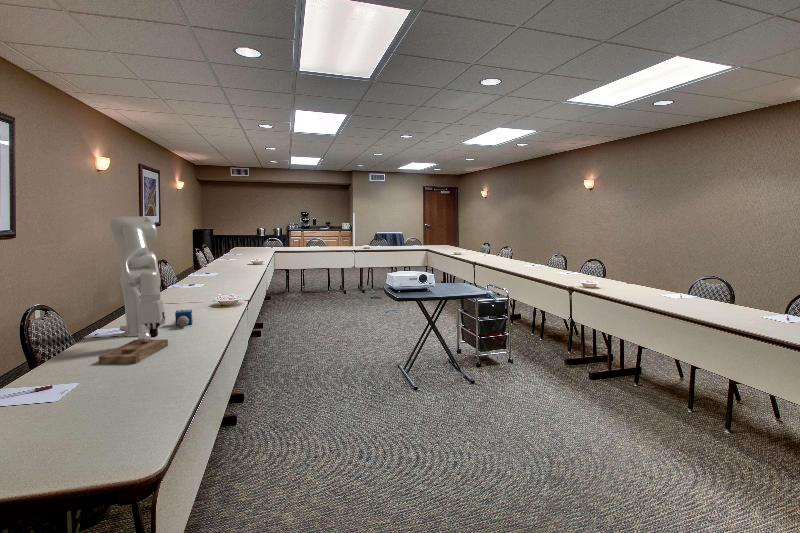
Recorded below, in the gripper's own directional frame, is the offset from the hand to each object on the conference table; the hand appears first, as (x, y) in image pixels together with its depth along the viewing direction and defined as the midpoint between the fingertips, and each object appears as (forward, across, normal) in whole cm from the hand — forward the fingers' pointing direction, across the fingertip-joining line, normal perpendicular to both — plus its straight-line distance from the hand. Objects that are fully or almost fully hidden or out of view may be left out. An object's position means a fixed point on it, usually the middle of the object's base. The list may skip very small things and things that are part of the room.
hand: (154, 336), depth 198 cm
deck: (+4, 0, -14) cm, 15 cm away
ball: (-2, 0, -7) cm, 7 cm away
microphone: (+4, -5, +39) cm, 40 cm away
